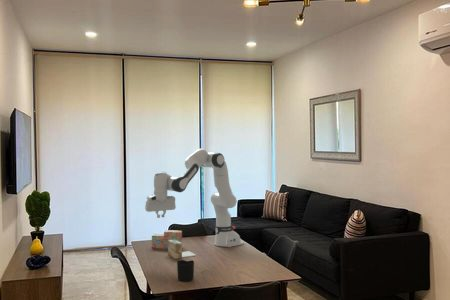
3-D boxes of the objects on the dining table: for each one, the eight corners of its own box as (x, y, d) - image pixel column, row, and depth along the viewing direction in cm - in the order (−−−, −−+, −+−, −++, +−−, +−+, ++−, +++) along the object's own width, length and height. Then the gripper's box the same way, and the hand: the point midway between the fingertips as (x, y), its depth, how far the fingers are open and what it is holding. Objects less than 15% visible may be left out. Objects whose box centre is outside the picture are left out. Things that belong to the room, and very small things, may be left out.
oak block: (175, 254, 299) (174, 239, 298) (181, 257, 288) (181, 242, 288) (168, 254, 296) (168, 240, 296) (174, 258, 286) (174, 243, 285)
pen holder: (187, 276, 248) (187, 258, 248) (197, 279, 241) (197, 262, 241) (173, 279, 242) (173, 261, 242) (183, 283, 235) (183, 265, 235)
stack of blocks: (151, 248, 315) (151, 231, 315) (153, 246, 321) (153, 229, 321) (180, 249, 313) (180, 232, 313) (182, 247, 319) (182, 230, 319)
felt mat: (188, 251, 304) (188, 251, 304) (196, 255, 293) (196, 254, 293) (175, 253, 299) (175, 252, 299) (182, 257, 288) (182, 256, 288)
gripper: (173, 195, 294) (173, 215, 295) (144, 197, 285) (144, 218, 285) (177, 196, 289) (177, 216, 289) (147, 198, 279) (147, 219, 279)
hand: (160, 217), depth 287 cm, fingers closed
